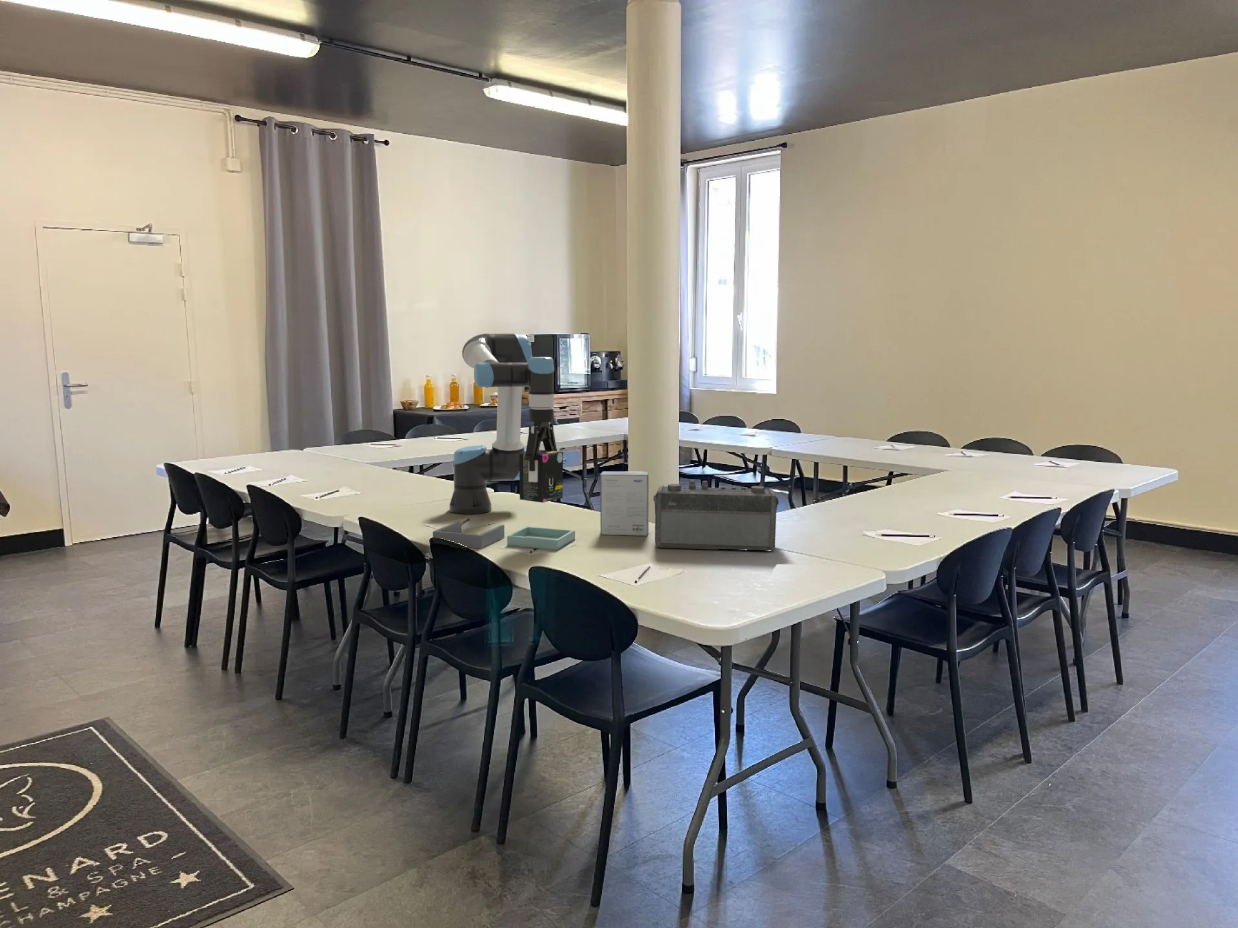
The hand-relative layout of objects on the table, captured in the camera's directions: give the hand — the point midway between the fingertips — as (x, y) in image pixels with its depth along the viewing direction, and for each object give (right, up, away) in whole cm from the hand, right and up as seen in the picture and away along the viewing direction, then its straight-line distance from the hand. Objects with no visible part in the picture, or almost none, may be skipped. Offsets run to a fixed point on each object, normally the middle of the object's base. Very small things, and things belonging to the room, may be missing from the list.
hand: (541, 478), depth 273 cm
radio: (+53, -21, +1) cm, 57 cm away
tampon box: (0, -6, +1) cm, 7 cm away
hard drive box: (+26, -18, +18) cm, 36 cm away
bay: (-23, -19, +5) cm, 30 cm away
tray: (0, -20, +3) cm, 20 cm away
